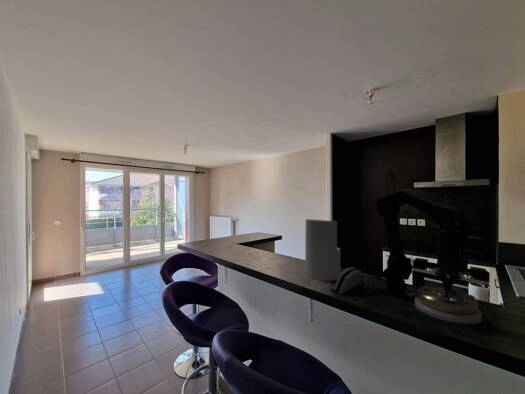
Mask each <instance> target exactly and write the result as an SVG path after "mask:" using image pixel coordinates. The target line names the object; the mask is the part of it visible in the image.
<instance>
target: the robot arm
mask: <svg viewBox="0 0 525 394" xmlns="http://www.w3.org/2000/svg"><path fill="white" fill-rule="evenodd" d="M405 204H406V205H409V206H411V207H413V208H415V209H417V210H418V211H420V212H423V213H424V214H427V215H428V216H429V217H430V219H432V220H433V221H434V222H435V223H436V224H437V225H435V226H433V228H431V230H432V231H434V232H438V238H437V239H438V241H437V243H438V245H437V258H436V262H429V258H422V257H416V258H414V259H413V262H412V258H411V257H407V255H406V254H405V253H404V248H403V242H402V236H401V231H400V226H399V221H398V217H399V214H400V212H401V207H402V206H404V205H405ZM376 207H377V210H378V213H379V215H380V216H381V217H382V219H383V221H384V222H383V223H384V227H385V233H386V239H387V240H386V241H387V245H388V250H389V255H388V258H387V260H386V268H385V269H384V270H383V271H382V272H381V277H382V279H384V280H385V290H383V293H384V294H386V295H388V296H391V297H393V298H395V299H396V298H397V299H400V298H405V297H409V294H407V284H406V280H407V281H408V280H409V278H410V276H411V274H413V269H417V270H421V271H425V270H426V269H433V270H434V275H436V276H438V277H439V279H440V280H441V283H442V285H443V289H445V292H446V296H448V293H449V291H450V289H451V288H453V285H454V284H455V283H456V282H457V280H463V275H466V276H467V275H468V276H471V277H472V279H474V280H476V281H481V282H488V283H489V282H490V272H489V271H488V270H487V269H486V268H482V267H477V266H469V260H468V259H462V258H461V250H464V251H468V252H469V251H470V252H474V253H479V254H480V253H481V254H485V255H489V254H490V253H492V252H493V250H494V248H495V240H494V239H493V236H492V235H491V234H490V230H489V229H482V228H481V229H479V228H475V227H474V226H473V224H472V223H471V222H470V221H469V219H468V218H467V217H466V213H465V211H464V210H463V209H462V208H460V207H456V206H450V205H445V204H440V203H436V202H434V201H432V200H429V199H427V198H424V197H423V196H422V197H421V196H419V195H418V194H414V193H413V192H411V191H409V190H399V191H397V192H394V193H392V194H390V195H386V196H383V197H380V198H378V199H377V201H376ZM468 266H469V267H468ZM447 275H448V276H447Z"/></svg>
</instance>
